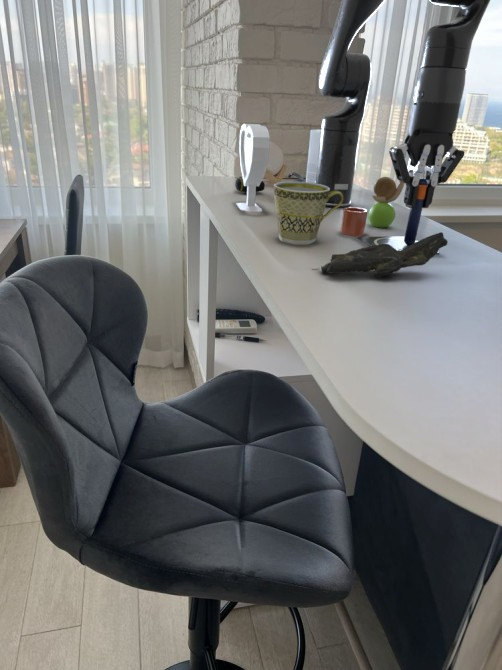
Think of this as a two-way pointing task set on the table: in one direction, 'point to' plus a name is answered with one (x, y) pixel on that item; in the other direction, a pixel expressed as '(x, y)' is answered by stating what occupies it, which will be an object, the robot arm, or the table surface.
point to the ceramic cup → (301, 210)
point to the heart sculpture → (253, 161)
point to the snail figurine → (384, 202)
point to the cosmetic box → (313, 156)
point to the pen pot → (354, 221)
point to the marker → (415, 214)
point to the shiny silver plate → (387, 241)
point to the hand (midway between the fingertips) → (416, 206)
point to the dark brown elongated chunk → (386, 257)
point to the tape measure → (243, 189)
